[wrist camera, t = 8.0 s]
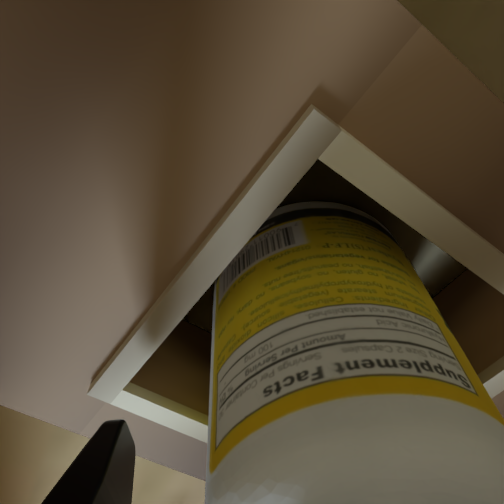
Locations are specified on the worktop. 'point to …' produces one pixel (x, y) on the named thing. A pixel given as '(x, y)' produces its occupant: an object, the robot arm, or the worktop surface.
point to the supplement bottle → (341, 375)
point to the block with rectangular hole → (214, 186)
